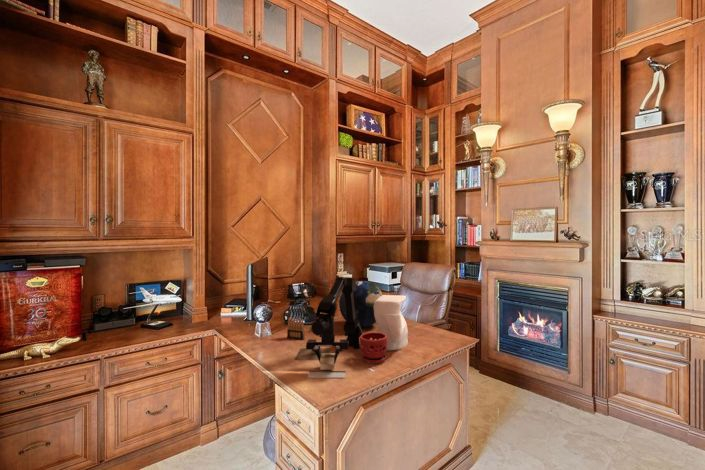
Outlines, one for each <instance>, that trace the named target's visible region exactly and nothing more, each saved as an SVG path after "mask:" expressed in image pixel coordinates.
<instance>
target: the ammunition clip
mask: <svg viewBox="0 0 705 470" xmlns="http://www.w3.org/2000/svg"><path fill="white" fill-rule="evenodd" d="M304 326H305V325H304V319H303V318H302V319H301V318H299V319H298V318H295V317H294V318H293V317H291V318H290V317H288V322H287V333H286V338H288V339H291V338H293V339H292V340H301V341H304V340H305V329H304V328H305V327H304Z"/></svg>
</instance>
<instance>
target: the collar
mask: <svg viewBox="0 0 705 470" xmlns="http://www.w3.org/2000/svg"><path fill="white" fill-rule="evenodd" d="M334 358H335V352H334V353H332V352H330V353H322V354H321V357H320V362H319V371H335V366H336V363H335V364H334Z"/></svg>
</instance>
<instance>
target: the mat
mask: <svg viewBox="0 0 705 470" xmlns="http://www.w3.org/2000/svg"><path fill="white" fill-rule="evenodd" d="M346 374H347V373H346V370H310V371H308V375H307V379H346Z"/></svg>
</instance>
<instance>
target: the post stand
mask: <svg viewBox="0 0 705 470" xmlns="http://www.w3.org/2000/svg"><path fill="white" fill-rule="evenodd" d="M320 351H321V354H322V353H331V352H330V351H331V347H328V348H324V347H322V348H321V347H320ZM294 361H319V359H318V357H317V355H316V353H315V352H314V351H312V350H310V349H306V347H305V348H304V347H300V348H299V350H298V352H297V354H296V355H295V358H294Z"/></svg>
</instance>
